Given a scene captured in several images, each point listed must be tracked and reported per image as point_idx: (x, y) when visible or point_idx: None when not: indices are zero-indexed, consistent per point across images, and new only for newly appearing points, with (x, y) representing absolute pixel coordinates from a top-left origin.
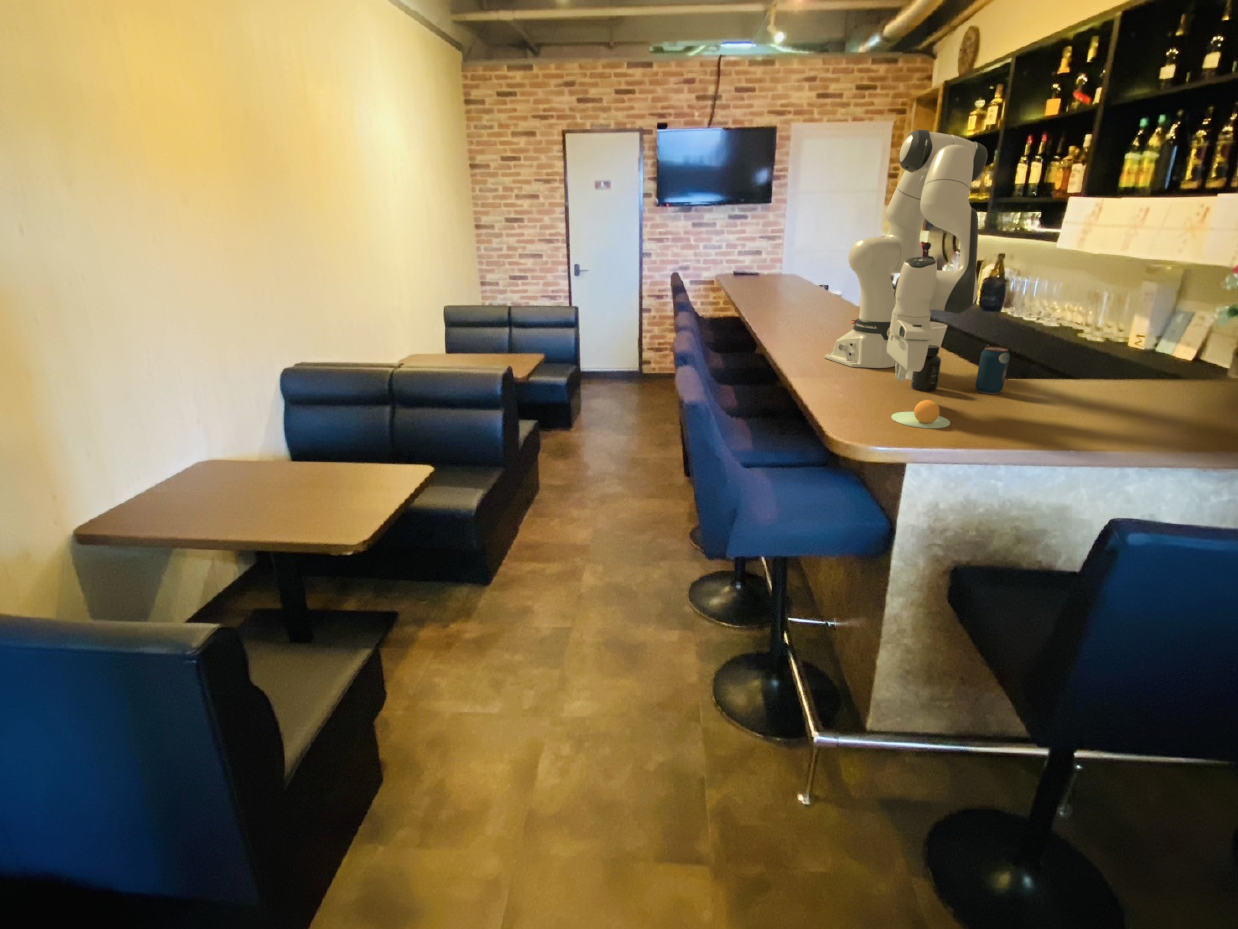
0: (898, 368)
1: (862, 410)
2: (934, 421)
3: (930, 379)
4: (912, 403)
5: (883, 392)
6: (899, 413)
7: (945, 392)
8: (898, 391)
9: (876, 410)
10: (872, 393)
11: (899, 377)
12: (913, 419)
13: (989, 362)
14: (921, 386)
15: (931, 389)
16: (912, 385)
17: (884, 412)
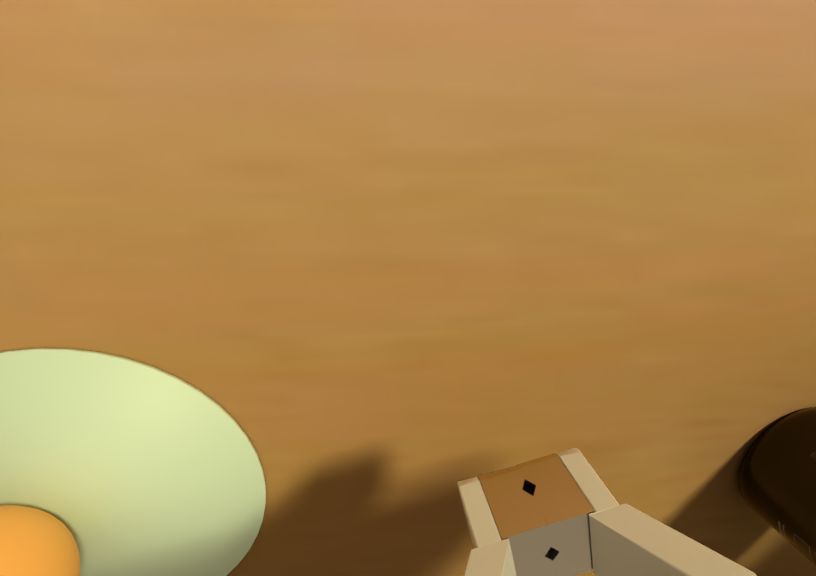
0: (637, 567)
1: (118, 123)
2: (82, 566)
3: (805, 541)
4: (478, 434)
5: (711, 268)
6: (158, 392)
7: (725, 537)
8: (738, 350)
9: (187, 238)
10: (680, 196)
11: (467, 518)
12: (50, 474)
13: None
14: (770, 469)
15: (745, 499)
16: (811, 423)
17: (158, 296)
